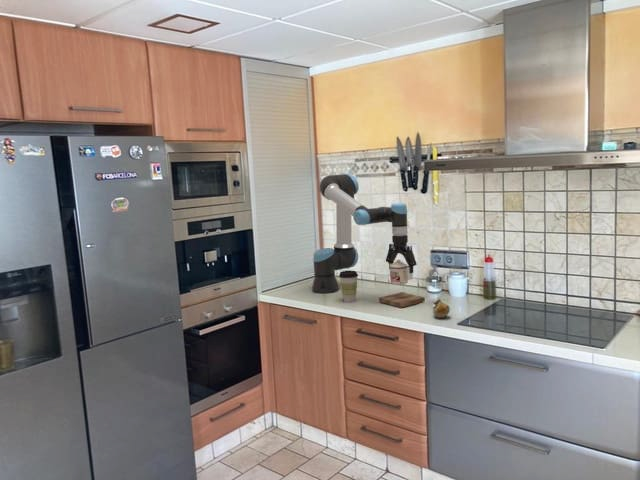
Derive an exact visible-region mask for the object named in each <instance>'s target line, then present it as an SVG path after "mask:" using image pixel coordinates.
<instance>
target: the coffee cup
mask: <svg viewBox="0 0 640 480" xmlns="http://www.w3.org/2000/svg"><path fill="white" fill-rule="evenodd" d="M358 276H359V275H358V272H357V271H355V270H343V271H340V272H339V274H338V277H339V279H340V280H339V281H340V288H341V294H342V298H343V302H345V303H353V302H356V300H357V299H356V297H357V288H358Z"/></svg>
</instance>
